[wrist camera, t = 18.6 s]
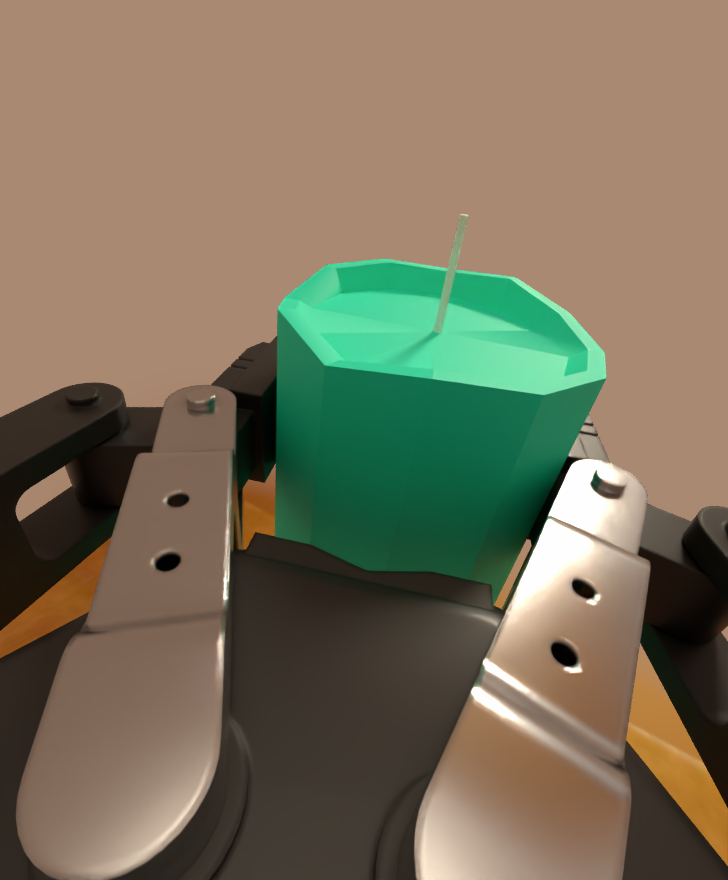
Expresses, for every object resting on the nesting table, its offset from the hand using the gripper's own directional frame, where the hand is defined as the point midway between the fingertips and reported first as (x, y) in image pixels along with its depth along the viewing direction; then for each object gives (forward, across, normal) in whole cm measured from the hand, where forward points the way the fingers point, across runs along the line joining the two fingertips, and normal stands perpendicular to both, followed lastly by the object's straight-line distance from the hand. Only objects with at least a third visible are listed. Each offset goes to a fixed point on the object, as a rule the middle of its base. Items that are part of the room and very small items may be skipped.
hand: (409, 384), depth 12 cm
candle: (-2, 0, +8) cm, 8 cm away
